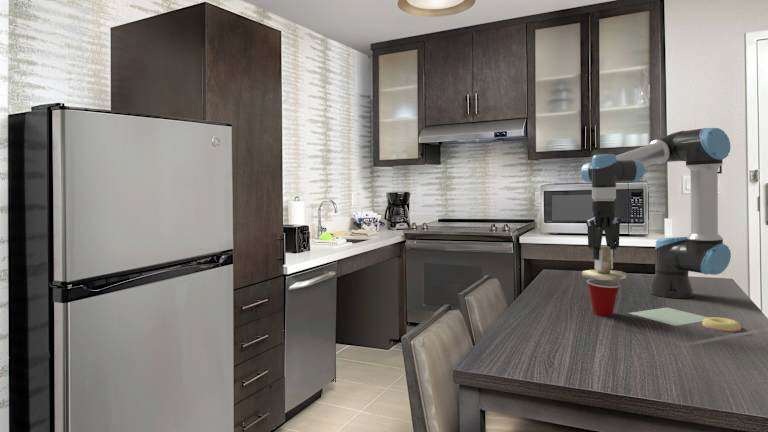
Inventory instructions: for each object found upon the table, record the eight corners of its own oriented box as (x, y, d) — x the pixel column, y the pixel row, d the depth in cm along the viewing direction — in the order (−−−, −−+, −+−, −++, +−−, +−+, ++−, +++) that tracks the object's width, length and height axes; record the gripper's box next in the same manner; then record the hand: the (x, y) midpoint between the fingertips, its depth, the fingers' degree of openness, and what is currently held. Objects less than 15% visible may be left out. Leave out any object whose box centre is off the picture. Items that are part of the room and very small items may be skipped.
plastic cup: (616, 321, 171) (616, 285, 170) (582, 317, 177) (582, 282, 177) (624, 314, 179) (624, 280, 179) (592, 310, 186) (592, 277, 185)
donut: (730, 343, 153) (745, 333, 158) (732, 329, 152) (747, 319, 157) (695, 330, 161) (710, 321, 166) (697, 317, 160) (712, 308, 165)
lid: (604, 271, 187) (604, 243, 186) (636, 277, 174) (636, 247, 173) (573, 275, 182) (572, 245, 181) (603, 281, 169) (603, 250, 168)
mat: (666, 309, 185) (666, 307, 185) (715, 321, 168) (715, 319, 168) (628, 315, 179) (628, 313, 178) (674, 328, 162) (674, 325, 162)
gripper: (614, 199, 183) (614, 265, 184) (575, 200, 176) (576, 269, 178) (631, 199, 176) (631, 268, 177) (592, 201, 169) (592, 272, 171)
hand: (603, 268), depth 177 cm, fingers closed on lid, 4 cm apart
